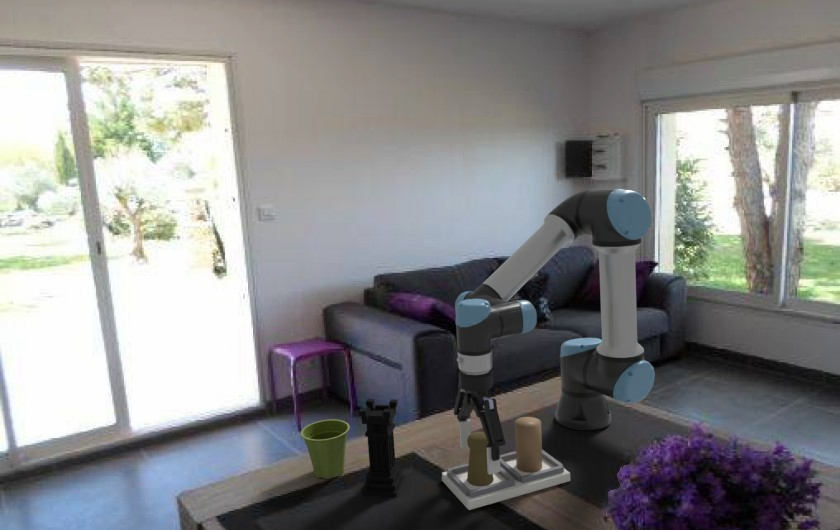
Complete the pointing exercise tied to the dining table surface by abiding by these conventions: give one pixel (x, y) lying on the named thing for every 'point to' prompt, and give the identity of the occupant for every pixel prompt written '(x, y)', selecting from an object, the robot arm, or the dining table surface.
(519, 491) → the pin board
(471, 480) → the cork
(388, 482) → the chess piece
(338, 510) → the dining table surface
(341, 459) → the plant pot
